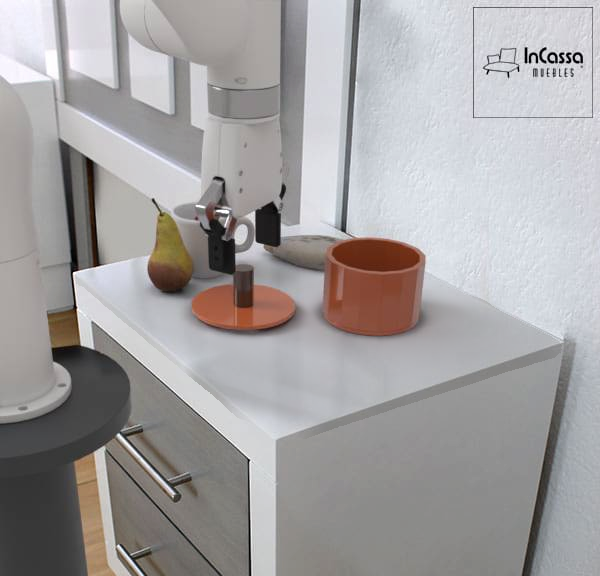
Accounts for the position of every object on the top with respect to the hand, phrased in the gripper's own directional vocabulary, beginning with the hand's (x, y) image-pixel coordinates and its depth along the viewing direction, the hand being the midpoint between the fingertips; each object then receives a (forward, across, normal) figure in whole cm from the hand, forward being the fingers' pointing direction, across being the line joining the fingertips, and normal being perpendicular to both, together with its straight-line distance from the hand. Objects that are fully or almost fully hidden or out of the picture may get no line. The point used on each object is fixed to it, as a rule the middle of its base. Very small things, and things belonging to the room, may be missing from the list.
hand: (245, 257), depth 103 cm
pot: (+7, -7, +13) cm, 16 cm away
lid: (+6, 0, 0) cm, 6 cm away
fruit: (+7, 0, -11) cm, 13 cm away
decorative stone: (+7, -18, 0) cm, 20 cm away
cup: (+7, -8, -10) cm, 15 cm away
